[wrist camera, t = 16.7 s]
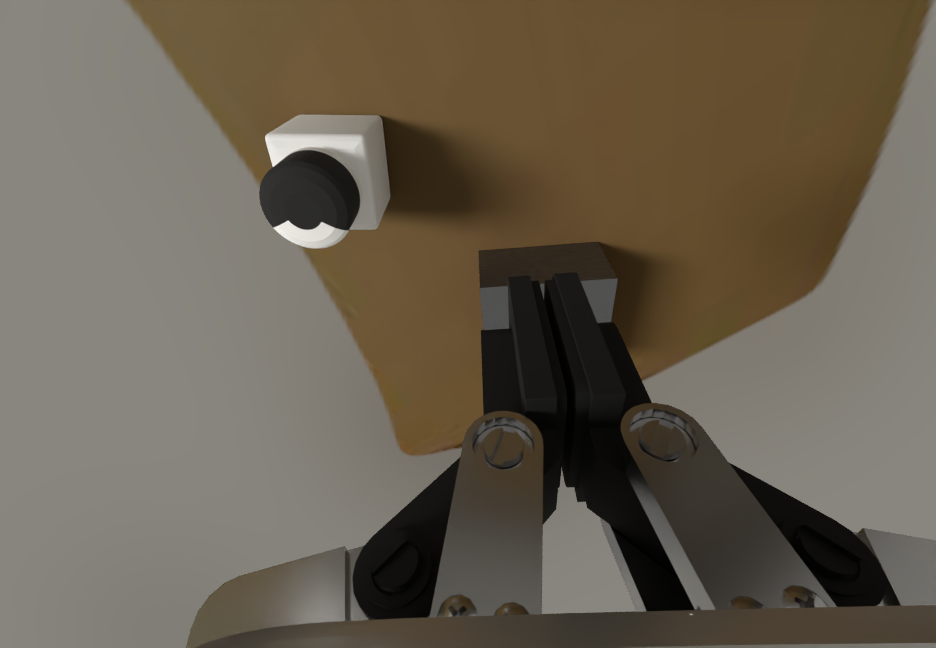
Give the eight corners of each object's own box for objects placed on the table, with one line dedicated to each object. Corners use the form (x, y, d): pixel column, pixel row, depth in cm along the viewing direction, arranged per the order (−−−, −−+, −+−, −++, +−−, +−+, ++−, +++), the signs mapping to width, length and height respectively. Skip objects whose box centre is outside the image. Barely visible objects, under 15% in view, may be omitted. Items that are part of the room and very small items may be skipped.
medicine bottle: (296, 113, 34) (229, 154, 24) (382, 114, 34) (348, 155, 24) (315, 197, 38) (264, 260, 29) (391, 198, 38) (365, 260, 29)
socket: (478, 250, 42) (479, 288, 36) (597, 241, 41) (617, 278, 35) (485, 340, 49) (487, 383, 43) (586, 334, 48) (602, 376, 43)
